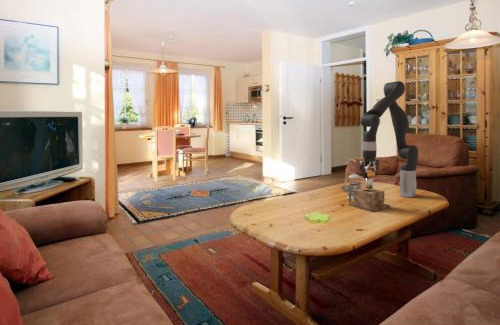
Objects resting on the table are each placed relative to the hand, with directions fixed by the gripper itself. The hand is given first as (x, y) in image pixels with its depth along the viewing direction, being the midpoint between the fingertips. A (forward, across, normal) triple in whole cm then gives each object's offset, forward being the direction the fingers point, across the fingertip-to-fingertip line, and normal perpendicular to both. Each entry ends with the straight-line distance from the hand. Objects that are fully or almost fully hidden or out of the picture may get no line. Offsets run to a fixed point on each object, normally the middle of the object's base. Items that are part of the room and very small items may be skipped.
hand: (369, 177), depth 203 cm
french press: (+17, -10, -22) cm, 30 cm away
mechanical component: (+17, 0, -15) cm, 23 cm away
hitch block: (+17, 0, 0) cm, 17 cm away
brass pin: (+6, 0, 0) cm, 6 cm away
